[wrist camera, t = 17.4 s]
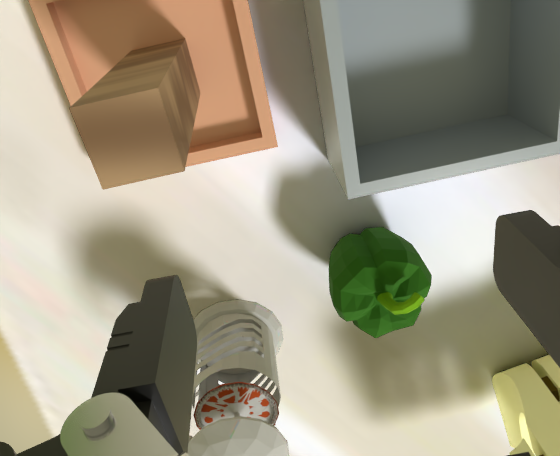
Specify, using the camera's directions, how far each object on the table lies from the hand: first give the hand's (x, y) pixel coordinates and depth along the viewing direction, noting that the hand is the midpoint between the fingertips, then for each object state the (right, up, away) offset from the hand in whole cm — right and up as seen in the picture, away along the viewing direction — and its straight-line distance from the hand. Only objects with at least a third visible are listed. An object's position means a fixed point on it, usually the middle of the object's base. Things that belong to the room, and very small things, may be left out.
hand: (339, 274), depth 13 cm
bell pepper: (+6, -1, +35) cm, 35 cm away
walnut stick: (-10, +13, +24) cm, 29 cm away
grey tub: (+9, +15, +26) cm, 31 cm away
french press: (-7, -10, +38) cm, 40 cm away
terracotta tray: (-10, +13, +25) cm, 30 cm away
